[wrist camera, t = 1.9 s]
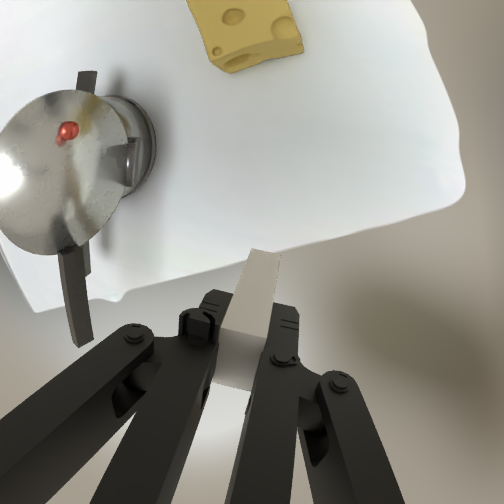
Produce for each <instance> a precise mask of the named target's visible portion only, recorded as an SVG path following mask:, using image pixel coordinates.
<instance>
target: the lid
mask: <svg viewBox="0 0 504 504" xmlns="http://www.w3.org/2000/svg"><path fill="white" fill-rule="evenodd" d="M136 149H137V143H135V142H128V141H127V136H126V133H125V129H124V127H123V125H122V122H121V120H120V119H119V117H118V115H117V114H116V112H115V111H114V110H113V109H112V107H111V106H110V105H109V104H107V103H106V102H105V101H104V100H102V99H101V98H99V97H98V96H96V95H93V94H91V93H89V92H85V91H81V90H61V91H55V92H51V93H47V94H45V95H42V96H40V97H38V98H36V99H34V100H32V101H31V102H29V103H28V104H26V105H25V106H24V107H23V108H21V109H20V110H19V111H18V112H17V113H16V114H15V115H14V116H13V117H12V118H11V119H10V120H9V122H8V123H7V124H6V126H5V127H4V128H3V130H2V132H1V133H0V229H1V231H2V232H3V233H4V235H5V236H6V237H7V238H8V239H9V240H10V241H11V242H12V243H14V244H15V245H16V246H18V247H19V248H21V249H23V250H25V251H28V252H30V253H33V254H39V255H56V254H58V261H59V269H60V277H61V283H62V290H63V296H64V302H65V307H66V312H67V317H68V322H69V327H70V332H71V336H72V340H73V343H74V344H75V345H76V346H77V347H78V348H80V347H81V346H83V345H85V344H87V343H88V342H91V341H92V340H94V337H93V331H92V325H91V319H90V313H89V305H88V297H87V289H86V280H85V270H84V258H83V249H82V248H81V247H80V246H81V245H82V244H84V243H85V242H87V241H88V240H90V239H91V238H92V237H93V236H94V235H95V234H96V233H98V231H99V230H100V229H101V228H102V227H103V226H104V225H105V223H106V222H107V221H108V220H109V218H110V217H111V215H112V213H113V212H114V210H115V208H116V206H117V205H118V203H119V200H120V198H121V196H122V193H123V190H124V187H125V186H132V185H134V172H135V160H136Z"/></svg>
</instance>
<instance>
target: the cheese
mask: <svg viewBox="0 0 504 504" xmlns="http://www.w3.org/2000/svg"><path fill="white" fill-rule="evenodd" d="M186 1H187V4H188V6H189V9H190V11H191V13H192V15H193V17H194V19H195V21H196V23H197V26H198V28H199V30H200V33H201V36H202V38H203V41H204V45H205V48H206V51H207V54H208V57H209V60H210V62H211V63H212V64H214V65H215V66H217V67H219V68H220V69H221V70H223V71H225V72H227V73H234V72H237V71H240V70H243V69H245V68H248V67H251V66H254V65H256V64H259V63H260V62H262V61H264V60H267V59H271V58H281V57H285V56H290V55H295V54H300V53H302V52H303V51H304V47H303V44H302V39H301V35H300V33H299V31H298V29H297V26H296V24H295V21H294V18H293V16H292V13H291V10H290V7H289V5H288V3H287V0H186Z"/></svg>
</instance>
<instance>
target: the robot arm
mask: <svg viewBox="0 0 504 504" xmlns="http://www.w3.org/2000/svg"><path fill="white" fill-rule="evenodd" d="M280 258H281V255H278V254H274V253H270V252H265V251H261V250H257V249H251V251H250V254H249V256H248V259H247V261H246V264H245V266H244V269H243V271H242V274H241V277H240V279H239V282H238V284H237V287H236V289H235V292H234V294H232V293H228V292H224V291H219V290H215V289H213V290H211V291H210V292H208V293H207V294H206V295H205V296H204V298H203V300H202V303H201V304H200V306H199V308H191V309H187V310H185V311H183V312H182V313H181V314H180V315H179V332H178V336H174V337H154V334H153V332H152V330H151V329H149V328H148V327H147V326H144V325H141V324H134V323H133V324H127V325H124V326H122V327H120V328H119V329H117V330H116V331H115V332H113V333H112V334H111V335H109V336H108V337H107V338H105V339H104V340H103V341H101V342H100V343H99V344H98V345H96V346H95V347H93V348H92V349H91V350H90V351H88V352H87V353H86V354H84V355H83V356H82V357H80V358H79V359H78V360H76V361H75V362H74V363H73V364H71V365H70V366H69V367H67V368H66V369H65V370H63V371H62V372H61V373H60V374H58V375H57V376H56V377H54V378H53V379H52V380H50V381H49V382H48V383H46V384H45V385H44V386H43V387H41V388H40V389H39V390H37V391H36V392H35V393H34V394H32V395H31V396H30V397H28V398H27V399H26V400H25V401H23V402H22V403H21V404H20V405H18V406H17V407H16V408H15V409H13V410H12V411H11V412H10V413H8V414H7V415H6V416H4V417H3V418H2V419H1V420H0V504H45V503H46V502H48V501H49V500H50V499H51V498H52V497H53V496H54V495H55V494H56V493H57V492H58V491H59V490H60V489H61V488H62V487H63V486H64V485H65V484H66V483H67V482H68V481H69V480H70V479H71V478H72V477H73V476H74V475H75V474H76V473H77V472H78V471H79V470H80V469H81V468H82V467H83V466H84V465H85V464H86V463H87V462H88V461H89V460H90V459H91V458H92V457H93V456H94V455H95V454H96V453H97V452H98V451H99V449H100V448H101V447H102V446H103V445H104V444H105V443H106V442H107V441H108V440H109V439H110V438H111V437H112V436H113V435H114V434H115V433H116V432H117V431H118V430H119V429H120V428H121V427H122V426H123V425H124V423H126V422H127V420H128V419H130V418H131V416H132V415H133V414H134V413H135V412H136V411H137V412H136V413H135V415H134V417H133V419H132V421H131V423H130V425H129V427H128V429H127V431H126V433H125V435H124V436H123V438H122V441H121V442H120V444H119V446H118V448H117V450H116V452H115V454H114V456H113V458H112V460H111V462H110V464H109V466H108V468H107V470H106V471H105V473H104V475H103V477H102V479H101V481H100V483H99V485H98V487H97V490H96V492H95V493H94V496H93V498H92V499H91V501H90V504H171V501H172V499H173V496H174V493H175V490H176V487H177V484H178V481H179V479H180V476H181V473H182V470H183V467H184V464H185V461H186V458H187V456H188V453H189V450H190V447H191V444H192V441H193V438H194V435H195V432H196V430H197V427H198V424H199V421H200V418H201V415H202V412H203V409H204V406H205V403H206V401H207V398H208V395H209V390H210V384H211V381H212V382H214V383H217V384H221V385H225V386H229V387H233V388H238V389H242V390H246V391H251V395H250V398H249V402H248V405H247V408H246V411H245V414H246V415H245V419H244V423H243V428H242V433H241V437H240V441H239V445H238V451H237V454H236V458H235V462H234V467H233V471H232V475H231V479H230V483H229V487H228V491H227V495H226V499H225V504H290V498H291V488H292V478H293V468H294V458H295V445H296V434H297V430H298V434H299V439H300V443H301V448H302V452H303V457H304V461H305V466H306V470H307V475H308V479H309V484H310V488H311V493H312V498H313V502H314V504H405V502H404V500H403V497H402V494H401V491H400V489H399V486H398V483H397V481H396V478H395V476H394V473H393V470H392V468H391V465H390V463H389V460H388V458H387V455H386V452H385V450H384V447H383V445H382V442H381V440H380V437H379V435H378V433H377V430H376V428H375V425H374V423H373V421H372V418H371V416H370V413H369V411H368V408H367V406H366V404H365V401H364V399H363V396H362V394H361V392H360V390H359V387H358V385H357V383H356V382H355V380H354V379H353V378H352V377H351V376H349V375H348V374H346V373H344V372H341V371H335V370H334V371H328V372H326V373H325V374H323V375H322V376H321V375H318V374H316V373H314V372H312V371H310V370H308V369H307V368H306V367H304V366H303V365H302V363H301V362H300V358H299V357H298V337H299V313H298V312H297V310H296V308H295V307H292V306H287V305H283V304H278V303H274V302H273V300H274V294H275V288H276V282H277V276H278V270H279V264H280ZM212 378H213V380H212Z"/></svg>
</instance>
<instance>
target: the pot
mask: <svg viewBox="0 0 504 504" xmlns="http://www.w3.org/2000/svg"><path fill="white" fill-rule="evenodd" d="M96 77H97V71H81V72H78V78H77V85H76V90H81V91H85V92H89V93H91V94H93V95H94V91H95V84H96ZM98 97H99V98H101V99H102V100H104V101H105V102H106V103H107V104H109V105H110V106H111V107H112V109H113V110H114V111H115V112H116V114H117V115H118V117H119V119H120V120H121V122H122V125H123V127H124V129H125V133H126V136H127V141H128V142H135V143H137V149H136V160H135V172H134V185H132V186H125V187H124V190H123V193H122V196H121V198H123V197H126V196H128V195H130V194H131V193H133V192H135V191H136V190H137V189H139V188H140V187H141V186H142V184H143V183H144V182H145V181H146V179H147V178H148V176H149V174H150V172H151V170H152V167H153V164H154V160H155V154H156V138H155V132H154V129H153V125H152V123H151V121H150V118H149V117H148V115H147V114H146V112H145V111H144V110H143V109H142V107H140V106H139V105H138V104H137V103H136V102H134V101H133V100H131V99H128V98H126V97H122V96H105V97H101V96H98ZM80 247H81V248H82V249H83V258H84V270H85V276H87V275H89V274H90V273H91V266H90V251H89V240H88V241H87V242H85V243H84V244H82V245H81V246H80Z"/></svg>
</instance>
